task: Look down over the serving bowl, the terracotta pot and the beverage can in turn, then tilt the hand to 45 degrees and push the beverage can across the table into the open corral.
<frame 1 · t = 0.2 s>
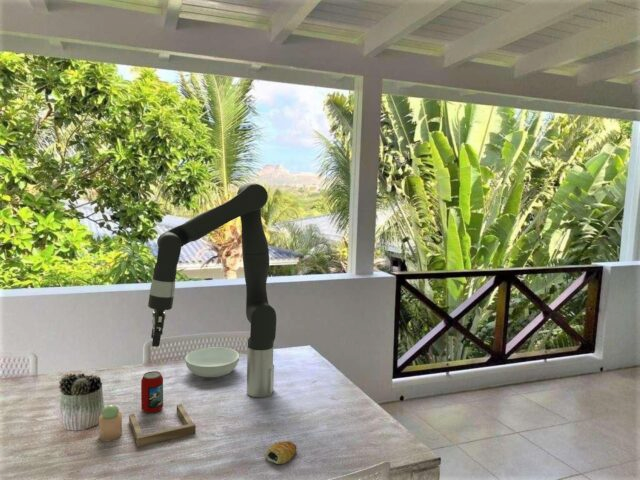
hand: (154, 342, 152), 22 cm above the table, tool pointing down, fingers open, 8 cm apart
pastry: (280, 457, 129), on the table
serving bowl: (212, 373, 185), on the table
corral: (160, 426, 143), on the table
beverage can: (152, 410, 153), on the table
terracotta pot: (110, 435, 137), on the table
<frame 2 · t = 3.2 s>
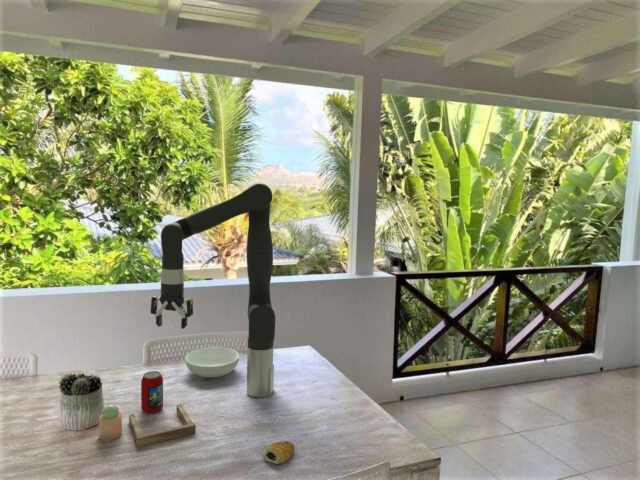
hand: (171, 327, 161), 25 cm above the table, tool pointing down, fingers open, 8 cm apart
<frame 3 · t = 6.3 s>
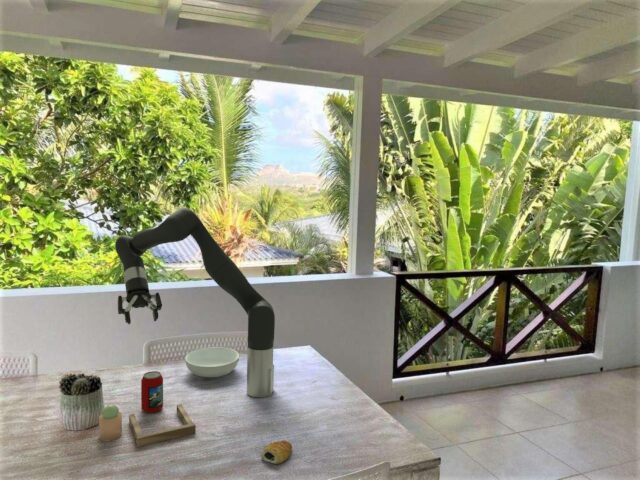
hand: (142, 321, 160), 27 cm above the table, tool tilted 45°, fingers open, 8 cm apart
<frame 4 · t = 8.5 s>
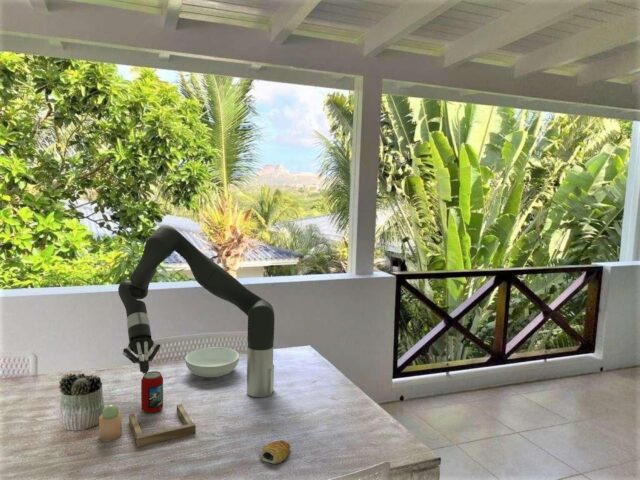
hand: (145, 372, 160), 9 cm above the table, tool tilted 45°, fingers closed
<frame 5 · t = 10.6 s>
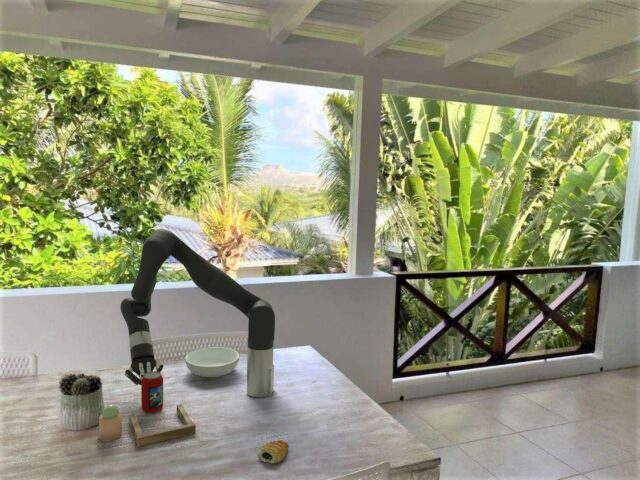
hand: (147, 394, 155), 4 cm above the table, tool tilted 45°, fingers closed
beverage can: (152, 409, 153), on the table, touching gripper
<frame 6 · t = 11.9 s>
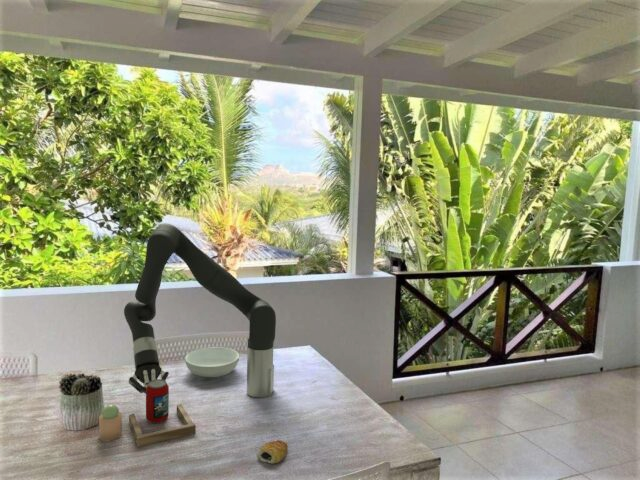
hand: (152, 403, 149), 4 cm above the table, tool tilted 45°, fingers closed
beverage can: (157, 419, 147), on the table, touching gripper
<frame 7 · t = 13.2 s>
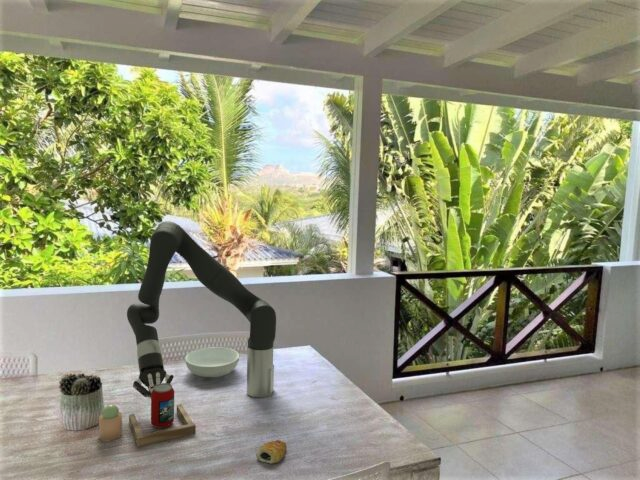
hand: (157, 407, 146), 4 cm above the table, tool tilted 45°, fingers closed
beverage can: (162, 424, 144), on the table, touching gripper
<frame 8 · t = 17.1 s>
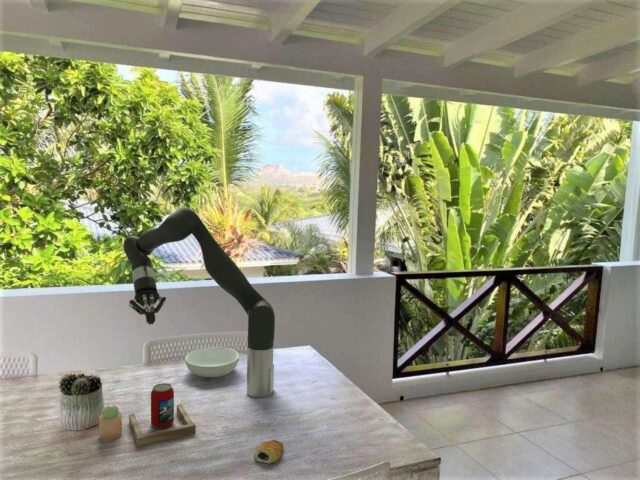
hand: (151, 323, 161), 26 cm above the table, tool tilted 45°, fingers closed
beverage can: (162, 424, 144), on the table
at the end: beverage can 1.6 cm from the corral (horizontally); beverage can tilted 0°; beverage can moved 11.1 cm from its start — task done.
